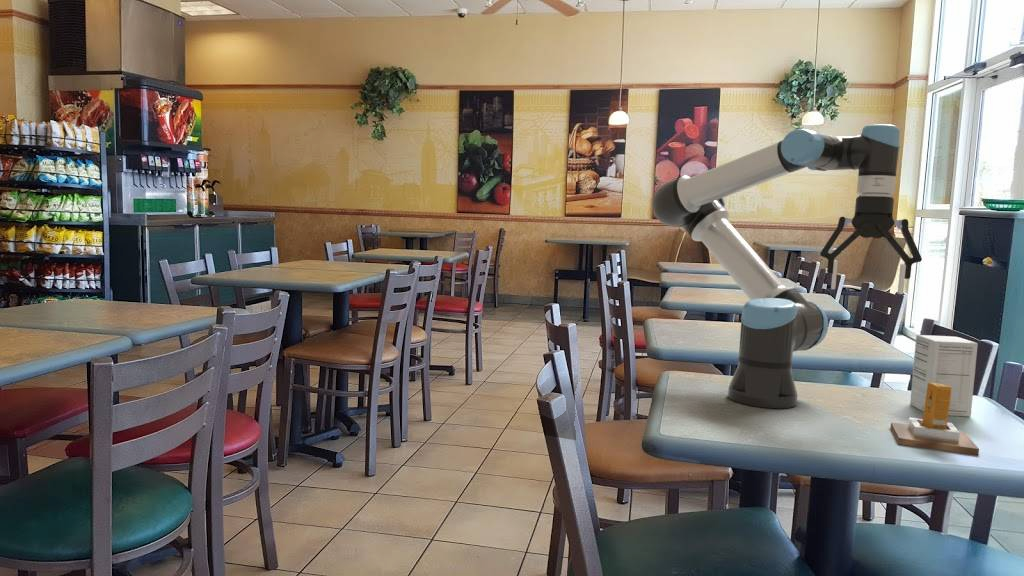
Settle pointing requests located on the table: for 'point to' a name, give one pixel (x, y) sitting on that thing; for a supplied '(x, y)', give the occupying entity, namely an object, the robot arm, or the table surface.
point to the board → (933, 441)
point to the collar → (933, 431)
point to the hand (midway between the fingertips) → (866, 291)
